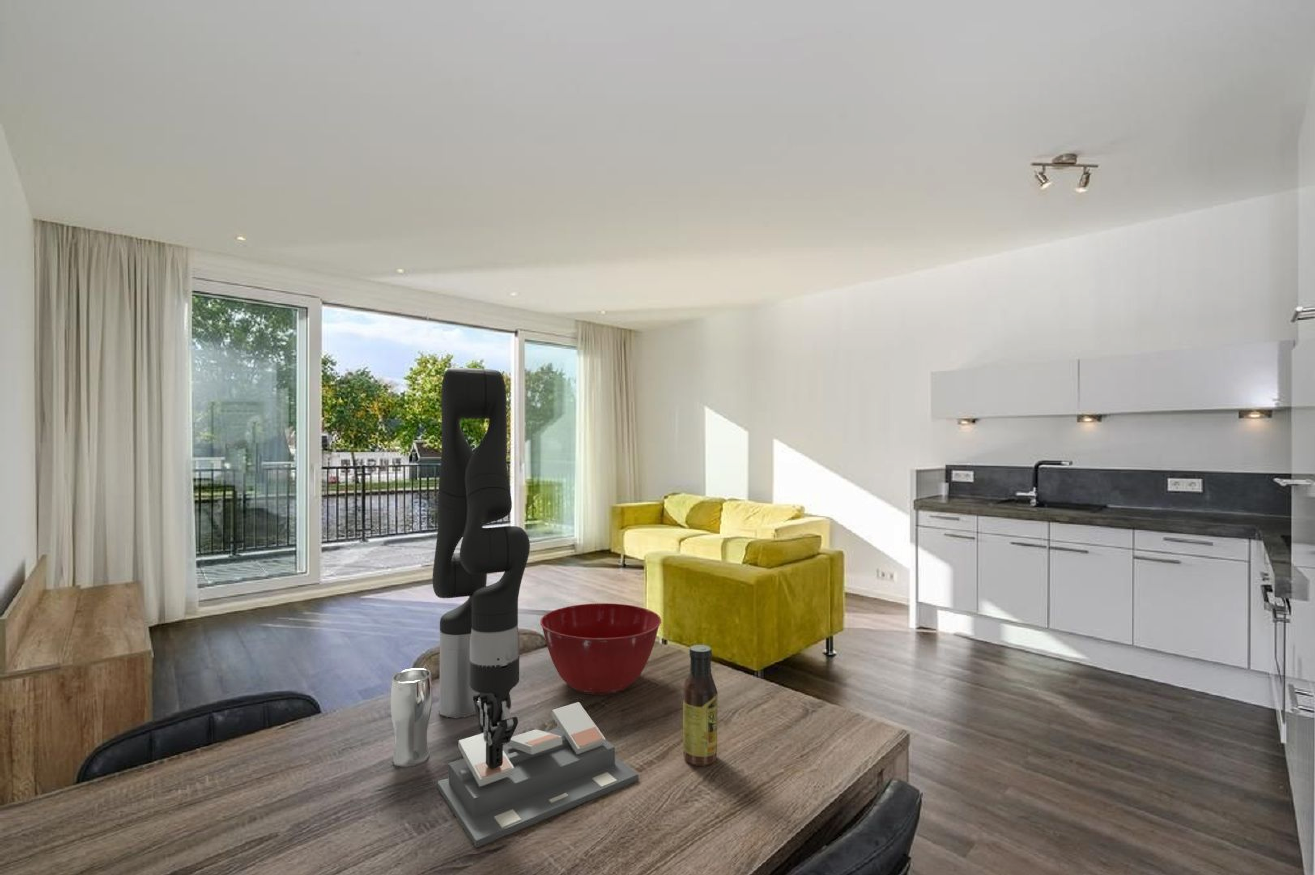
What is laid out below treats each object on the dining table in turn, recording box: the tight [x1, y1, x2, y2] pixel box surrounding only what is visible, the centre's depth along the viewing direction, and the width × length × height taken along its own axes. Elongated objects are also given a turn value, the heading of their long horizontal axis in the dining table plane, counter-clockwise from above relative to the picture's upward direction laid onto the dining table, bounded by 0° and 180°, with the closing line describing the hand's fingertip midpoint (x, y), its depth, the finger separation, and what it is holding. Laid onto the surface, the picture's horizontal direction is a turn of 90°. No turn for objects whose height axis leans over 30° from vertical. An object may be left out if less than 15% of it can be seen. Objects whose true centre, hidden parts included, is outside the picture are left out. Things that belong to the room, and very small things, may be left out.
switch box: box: [436, 726, 639, 848], centre depth 99 cm, size 18×28×5 cm, turn 127°
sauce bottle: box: [682, 644, 719, 767], centre depth 108 cm, size 7×6×20 cm
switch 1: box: [457, 732, 514, 787], centre depth 96 cm, size 10×6×1 cm, turn 37°
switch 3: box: [551, 701, 606, 754], centre depth 106 cm, size 10×6×1 cm, turn 37°
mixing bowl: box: [539, 602, 662, 696], centre depth 141 cm, size 28×28×16 cm
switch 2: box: [506, 729, 562, 755], centre depth 101 cm, size 10×6×1 cm, turn 37°
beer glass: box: [390, 667, 433, 768], centre depth 107 cm, size 7×7×15 cm
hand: (494, 765), depth 93 cm, fingers closed
